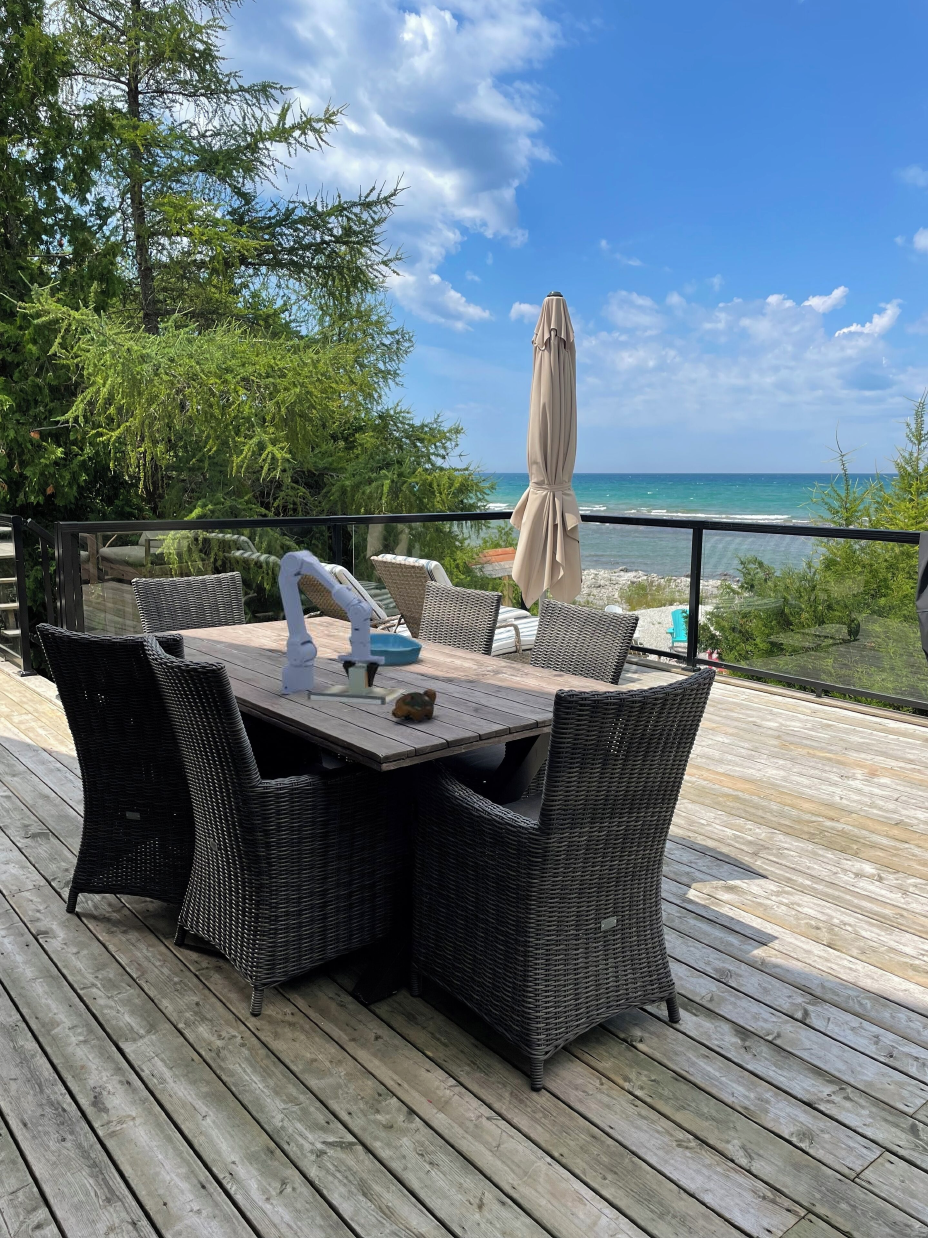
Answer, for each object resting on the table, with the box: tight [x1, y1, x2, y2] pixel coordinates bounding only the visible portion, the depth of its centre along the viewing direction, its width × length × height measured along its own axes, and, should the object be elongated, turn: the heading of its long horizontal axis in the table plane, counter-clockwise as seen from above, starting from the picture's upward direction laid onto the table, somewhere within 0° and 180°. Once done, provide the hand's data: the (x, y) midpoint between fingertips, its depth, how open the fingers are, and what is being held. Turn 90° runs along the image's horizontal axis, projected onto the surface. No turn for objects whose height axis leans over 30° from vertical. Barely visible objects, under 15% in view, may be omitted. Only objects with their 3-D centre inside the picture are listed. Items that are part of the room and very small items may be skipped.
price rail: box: [307, 691, 387, 705], centre depth 265 cm, size 24×1×4 cm, turn 75°
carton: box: [348, 663, 374, 695], centre depth 276 cm, size 5×7×8 cm
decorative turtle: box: [391, 689, 437, 723], centre depth 250 cm, size 10×15×8 cm, turn 138°
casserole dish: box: [348, 632, 423, 667], centre depth 339 cm, size 37×22×7 cm, turn 24°
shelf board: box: [320, 685, 407, 704], centre depth 275 cm, size 24×18×2 cm
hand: (361, 686), depth 276 cm, fingers closed on carton, 5 cm apart
